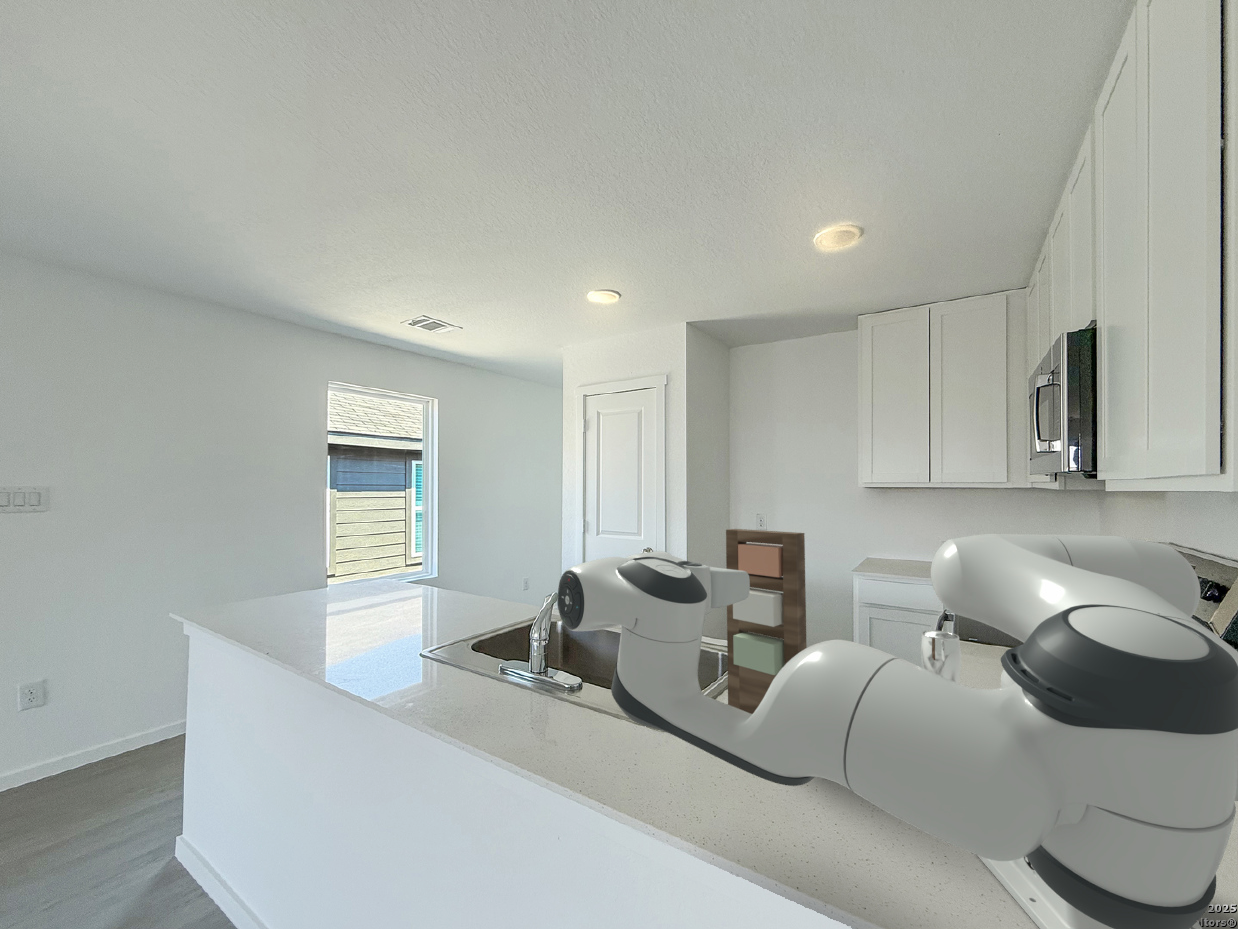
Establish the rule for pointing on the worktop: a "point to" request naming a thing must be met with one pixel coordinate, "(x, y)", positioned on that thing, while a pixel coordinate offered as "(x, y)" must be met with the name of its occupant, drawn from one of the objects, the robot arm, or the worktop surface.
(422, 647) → the worktop surface
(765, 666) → the sage key
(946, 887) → the worktop surface
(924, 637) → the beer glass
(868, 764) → the robot arm
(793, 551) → the key panel
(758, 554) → the terracotta key
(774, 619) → the cream key
